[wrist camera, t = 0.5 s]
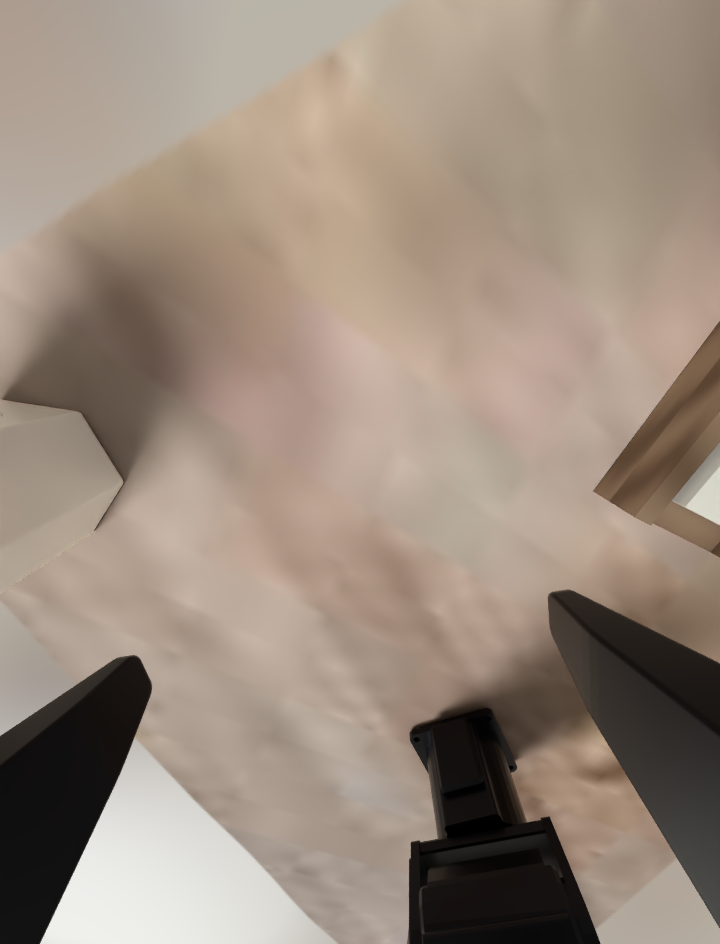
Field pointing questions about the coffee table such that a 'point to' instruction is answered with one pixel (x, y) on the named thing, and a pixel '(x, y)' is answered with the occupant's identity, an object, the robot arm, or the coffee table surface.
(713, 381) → the brown wooden open box
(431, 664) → the coffee table surface
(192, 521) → the coffee table surface
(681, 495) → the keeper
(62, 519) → the jar
